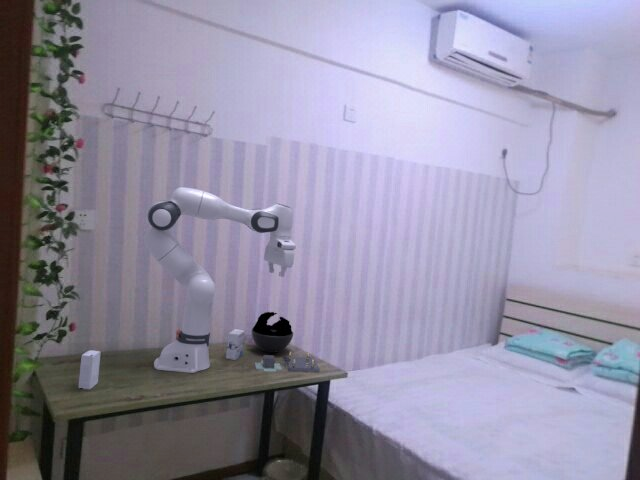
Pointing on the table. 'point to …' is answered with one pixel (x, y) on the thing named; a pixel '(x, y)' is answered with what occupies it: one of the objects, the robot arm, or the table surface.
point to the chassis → (300, 364)
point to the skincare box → (89, 369)
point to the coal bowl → (272, 333)
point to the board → (260, 367)
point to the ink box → (235, 344)
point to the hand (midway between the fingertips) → (276, 274)
